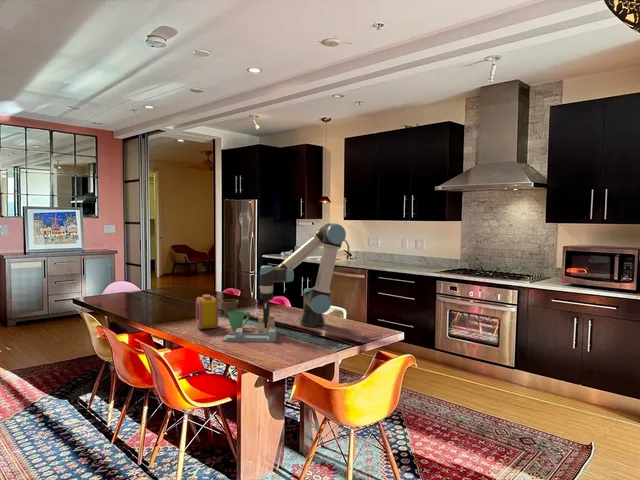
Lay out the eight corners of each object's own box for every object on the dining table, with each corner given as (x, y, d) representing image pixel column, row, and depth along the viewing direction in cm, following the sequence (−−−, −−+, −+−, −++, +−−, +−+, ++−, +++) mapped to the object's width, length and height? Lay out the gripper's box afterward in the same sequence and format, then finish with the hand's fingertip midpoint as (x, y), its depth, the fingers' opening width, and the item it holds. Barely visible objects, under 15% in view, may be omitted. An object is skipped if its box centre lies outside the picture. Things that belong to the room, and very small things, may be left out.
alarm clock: (195, 324, 282) (195, 293, 281) (213, 323, 286) (213, 292, 285) (199, 331, 265) (199, 298, 264) (218, 330, 269) (218, 297, 268)
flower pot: (239, 316, 306) (239, 301, 305) (221, 317, 303) (221, 302, 302) (237, 313, 317) (237, 298, 316) (221, 313, 314) (221, 299, 313)
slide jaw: (237, 334, 255) (237, 328, 255) (242, 334, 255) (242, 328, 255) (234, 338, 246) (234, 332, 246) (240, 338, 246) (240, 332, 246)
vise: (226, 336, 256) (226, 326, 255) (276, 337, 256) (276, 327, 256) (222, 341, 246) (222, 331, 245) (274, 341, 246) (275, 331, 246)
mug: (234, 332, 265) (234, 315, 265) (224, 329, 272) (224, 312, 272) (254, 327, 276) (254, 311, 276) (244, 325, 283) (244, 309, 282)
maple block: (259, 331, 268) (259, 316, 267) (274, 331, 268) (274, 316, 268) (258, 333, 263) (258, 318, 262) (273, 333, 263) (273, 318, 263)
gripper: (261, 289, 273) (261, 328, 274) (258, 295, 255) (258, 336, 256) (274, 290, 273) (274, 328, 274) (271, 295, 255) (271, 336, 256)
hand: (266, 332), depth 265 cm, fingers open, 5 cm apart
